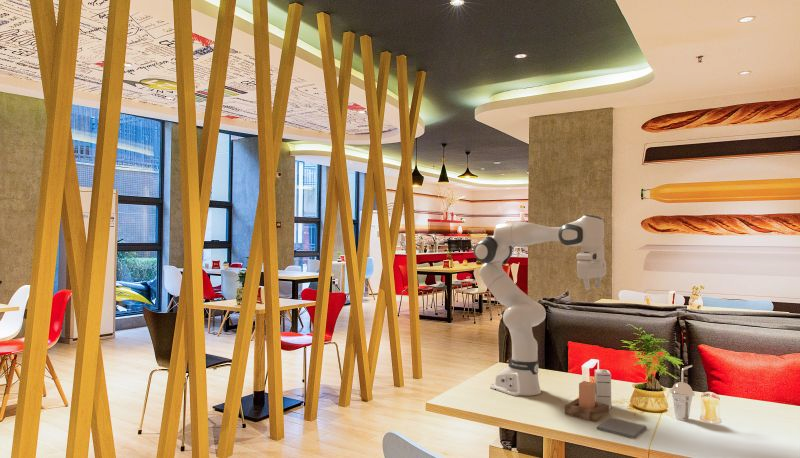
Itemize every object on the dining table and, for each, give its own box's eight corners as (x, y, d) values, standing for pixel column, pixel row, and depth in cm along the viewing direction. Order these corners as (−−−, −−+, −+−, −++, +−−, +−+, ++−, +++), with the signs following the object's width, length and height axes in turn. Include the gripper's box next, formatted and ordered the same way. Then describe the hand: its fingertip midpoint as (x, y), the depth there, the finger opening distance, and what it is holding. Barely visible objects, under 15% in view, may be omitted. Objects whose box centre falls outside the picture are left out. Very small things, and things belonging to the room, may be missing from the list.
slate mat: (596, 429, 198) (596, 426, 198) (610, 420, 208) (610, 417, 208) (633, 438, 189) (633, 435, 189) (646, 428, 199) (646, 425, 199)
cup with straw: (665, 414, 214) (665, 363, 214) (689, 415, 214) (689, 363, 214) (675, 422, 206) (676, 368, 206) (700, 422, 205) (700, 369, 205)
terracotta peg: (578, 414, 214) (579, 383, 214) (583, 411, 218) (583, 380, 218) (590, 416, 211) (590, 385, 211) (594, 413, 215) (595, 383, 215)
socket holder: (564, 414, 214) (564, 405, 214) (578, 406, 223) (578, 398, 223) (595, 421, 206) (596, 412, 206) (609, 413, 215) (609, 404, 215)
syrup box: (611, 409, 220) (612, 373, 220) (596, 408, 221) (596, 372, 221) (609, 405, 226) (609, 369, 226) (594, 404, 227) (594, 368, 227)
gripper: (595, 253, 233) (595, 286, 233) (574, 255, 218) (574, 290, 218) (610, 254, 229) (610, 287, 229) (589, 255, 214) (589, 291, 214)
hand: (592, 288), depth 223 cm, fingers open, 8 cm apart
